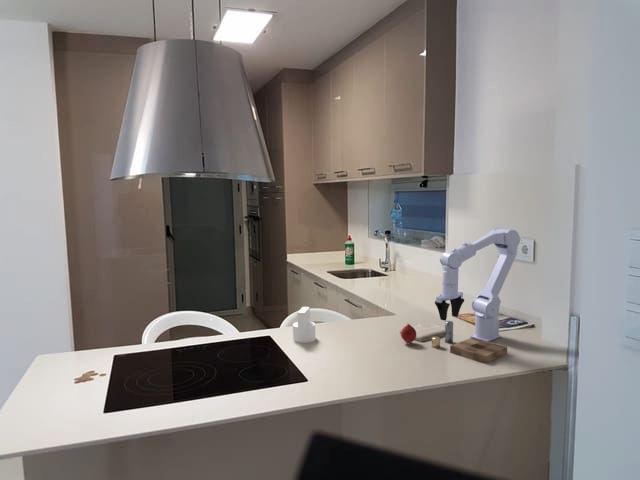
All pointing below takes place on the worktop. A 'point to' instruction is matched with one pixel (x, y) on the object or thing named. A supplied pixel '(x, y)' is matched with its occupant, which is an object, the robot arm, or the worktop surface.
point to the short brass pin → (436, 342)
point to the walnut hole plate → (478, 350)
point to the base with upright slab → (304, 327)
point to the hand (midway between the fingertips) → (449, 318)
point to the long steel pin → (448, 332)
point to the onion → (408, 334)
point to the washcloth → (427, 331)
